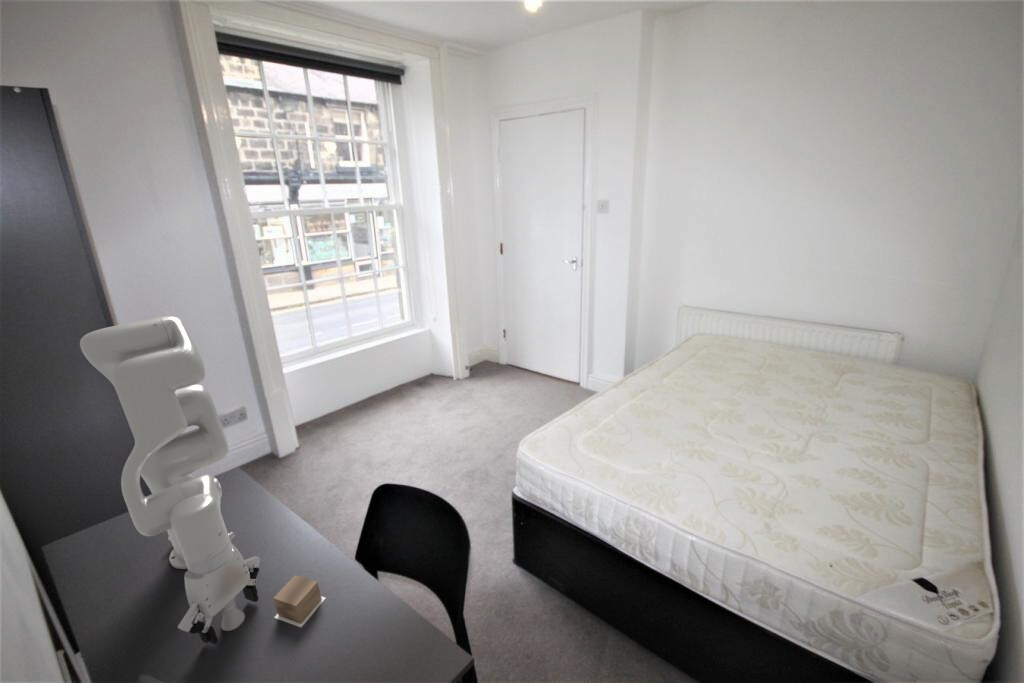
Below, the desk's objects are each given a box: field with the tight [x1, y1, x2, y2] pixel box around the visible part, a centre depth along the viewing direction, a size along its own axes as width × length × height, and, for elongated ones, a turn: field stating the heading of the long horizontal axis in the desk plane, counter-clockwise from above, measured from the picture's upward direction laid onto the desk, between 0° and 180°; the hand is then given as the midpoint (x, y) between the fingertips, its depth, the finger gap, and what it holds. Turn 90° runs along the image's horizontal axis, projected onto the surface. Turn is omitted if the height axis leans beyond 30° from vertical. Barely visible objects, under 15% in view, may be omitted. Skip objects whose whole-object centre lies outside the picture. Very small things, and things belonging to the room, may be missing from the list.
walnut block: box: [272, 574, 322, 624], centre depth 95 cm, size 6×6×5 cm
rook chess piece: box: [219, 596, 246, 632], centre depth 93 cm, size 4×4×8 cm
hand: (232, 619), depth 93 cm, fingers open, 9 cm apart
